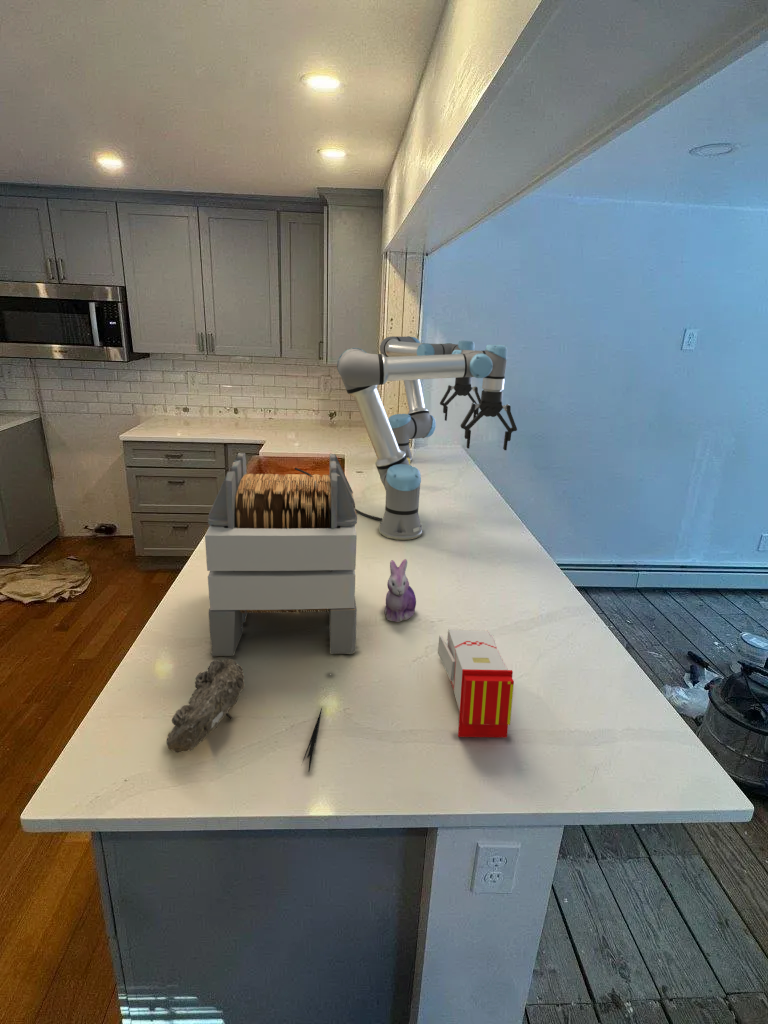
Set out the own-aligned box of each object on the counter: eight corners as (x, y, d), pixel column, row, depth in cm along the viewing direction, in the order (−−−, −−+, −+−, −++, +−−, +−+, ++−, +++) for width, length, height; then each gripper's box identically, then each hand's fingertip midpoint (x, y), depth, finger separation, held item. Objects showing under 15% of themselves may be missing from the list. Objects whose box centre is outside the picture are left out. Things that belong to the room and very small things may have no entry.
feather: (331, 679, 122) (336, 673, 122) (307, 777, 96) (313, 769, 95) (324, 675, 122) (329, 669, 121) (298, 772, 95) (304, 764, 95)
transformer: (231, 587, 157) (223, 443, 143) (348, 585, 161) (352, 445, 147) (208, 658, 125) (196, 482, 112) (356, 654, 129) (361, 484, 115)
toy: (488, 613, 130) (523, 677, 101) (484, 667, 133) (517, 744, 104) (435, 612, 130) (455, 676, 101) (432, 666, 133) (451, 743, 103)
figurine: (392, 627, 141) (395, 572, 136) (374, 608, 149) (376, 556, 144) (425, 619, 145) (429, 566, 140) (405, 601, 154) (408, 550, 149)
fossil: (192, 660, 117) (244, 628, 112) (224, 691, 120) (276, 661, 115) (142, 746, 98) (202, 712, 93) (182, 779, 101) (242, 748, 96)
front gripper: (525, 390, 205) (518, 447, 212) (456, 387, 205) (451, 444, 212) (529, 393, 198) (522, 452, 205) (458, 390, 198) (453, 449, 205)
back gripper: (437, 375, 260) (434, 421, 267) (492, 377, 260) (487, 423, 267) (436, 373, 267) (433, 418, 274) (489, 375, 267) (484, 420, 274)
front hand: (486, 448), depth 209 cm, fingers open, 13 cm apart
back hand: (459, 420), depth 271 cm, fingers open, 13 cm apart
